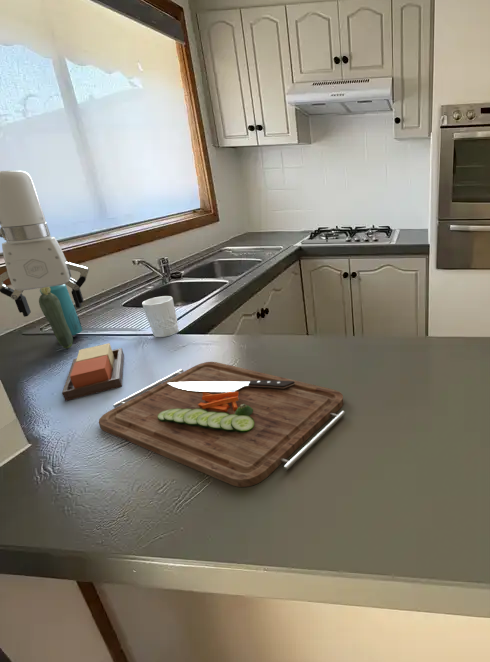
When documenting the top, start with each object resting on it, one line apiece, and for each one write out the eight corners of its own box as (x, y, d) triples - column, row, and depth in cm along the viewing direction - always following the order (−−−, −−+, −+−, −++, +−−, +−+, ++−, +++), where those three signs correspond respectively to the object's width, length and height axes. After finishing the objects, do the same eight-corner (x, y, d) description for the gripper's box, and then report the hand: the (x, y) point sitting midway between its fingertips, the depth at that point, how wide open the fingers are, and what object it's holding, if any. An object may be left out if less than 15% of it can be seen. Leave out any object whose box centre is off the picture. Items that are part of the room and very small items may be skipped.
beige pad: (81, 377, 98) (75, 361, 96) (84, 364, 105) (79, 349, 103) (113, 369, 101) (107, 354, 99) (114, 357, 107) (109, 342, 106)
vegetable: (78, 348, 116) (52, 278, 109) (59, 354, 113) (32, 282, 106) (74, 344, 119) (48, 276, 112) (56, 350, 116) (28, 280, 109)
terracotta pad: (76, 392, 91) (69, 376, 89) (80, 378, 98) (74, 362, 96) (110, 384, 94) (104, 367, 92) (112, 370, 100) (107, 355, 99)
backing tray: (65, 401, 89) (61, 392, 88) (76, 366, 105) (73, 358, 104) (121, 386, 93) (119, 378, 92) (124, 355, 110) (121, 347, 109)
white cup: (161, 340, 117) (152, 306, 114) (145, 335, 122) (136, 303, 118) (186, 330, 124) (178, 297, 120) (170, 326, 128) (162, 294, 124)
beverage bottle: (89, 335, 125) (65, 269, 118) (64, 343, 120) (38, 276, 113) (78, 332, 129) (55, 268, 122) (54, 340, 124) (28, 274, 116)
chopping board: (85, 423, 80) (80, 409, 79) (200, 362, 102) (197, 351, 100) (262, 497, 59) (258, 480, 58) (360, 401, 80) (359, 387, 79)
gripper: (-32, 241, 82) (1, 323, 88) (73, 230, 89) (97, 307, 95) (-20, 236, 88) (10, 313, 94) (78, 226, 95) (100, 299, 101)
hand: (54, 310), depth 94 cm, fingers open, 9 cm apart
